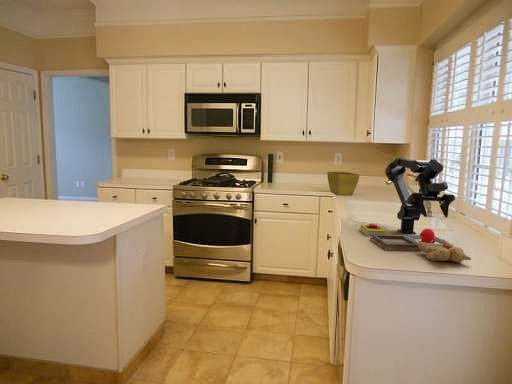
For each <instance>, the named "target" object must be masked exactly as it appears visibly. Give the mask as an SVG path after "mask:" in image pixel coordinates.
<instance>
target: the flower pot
mask: <svg viewBox="0 0 512 384" xmlns="http://www.w3.org/2000/svg"><path fill="white" fill-rule="evenodd" d="M326 174H327V182H328V183H327V184H328V187H329V190H330V193H331V194H334V195H338V196H352V195H354V193H355V190H356V188H357V185H358V182H359V180H360V176H361V175H360V174H357V173H353V172H348V171H327V173H326Z"/></svg>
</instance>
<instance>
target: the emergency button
mask: <svg viewBox="0 0 512 384" xmlns="http://www.w3.org/2000/svg"><path fill="white" fill-rule="evenodd" d="M359 231H360V232H361V233H363V235H365V236H366V237H367V238H370V237H373V235H388V231H387V230H386V229H385V228H383V227H382V226H381V225H378V224H374V223H370V224H361V225H360V228H359Z"/></svg>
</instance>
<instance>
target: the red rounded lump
mask: <svg viewBox="0 0 512 384" xmlns="http://www.w3.org/2000/svg"><path fill="white" fill-rule="evenodd" d="M419 235H420V236H421V237H422V239H420V242H425V243H427V244H435V242H437V241H436V239H435V236H436V235H435V231H434V230H433V229H431V228H424V229H422V231H421V232H420V233H419Z"/></svg>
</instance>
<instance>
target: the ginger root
mask: <svg viewBox="0 0 512 384" xmlns="http://www.w3.org/2000/svg"><path fill="white" fill-rule="evenodd" d="M441 239H442V242H443V247H442V246H431V245H429V244H427V243H425V242H422V241H419V242H420V243H418V248H419V249H420V250H421V251H420V252H422V253H425V254H426V258H427V259H428V260H430V261H433V262H439V261H442V262H445V261H447V262H448V261H452V262H454V263H462V262H463V261H471V260H472V257H470V256H467V255H466V254H465V252H464V249H462V248H461V247H458V246H455V245H454V246H453V245H451V244H450V243H451V242H450V243H448V242H449V241H448V240H445V239H444V238H441Z"/></svg>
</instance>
